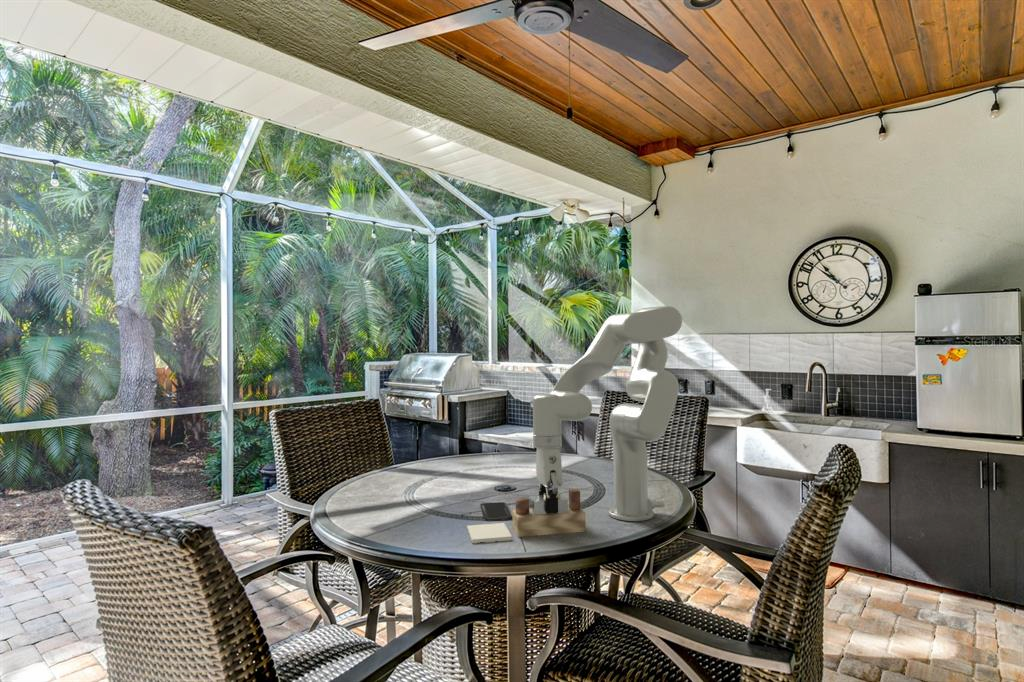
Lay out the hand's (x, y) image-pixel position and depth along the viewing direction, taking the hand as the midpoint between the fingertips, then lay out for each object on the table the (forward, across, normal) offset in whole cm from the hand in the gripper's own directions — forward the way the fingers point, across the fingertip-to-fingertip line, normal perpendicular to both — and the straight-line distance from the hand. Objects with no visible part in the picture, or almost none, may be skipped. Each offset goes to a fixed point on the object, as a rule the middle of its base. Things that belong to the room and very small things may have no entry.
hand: (548, 508), depth 152 cm
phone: (+6, +19, +11) cm, 23 cm away
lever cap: (+1, 0, 0) cm, 1 cm away
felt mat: (+6, 0, +16) cm, 17 cm away
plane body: (+6, 0, 0) cm, 6 cm away
